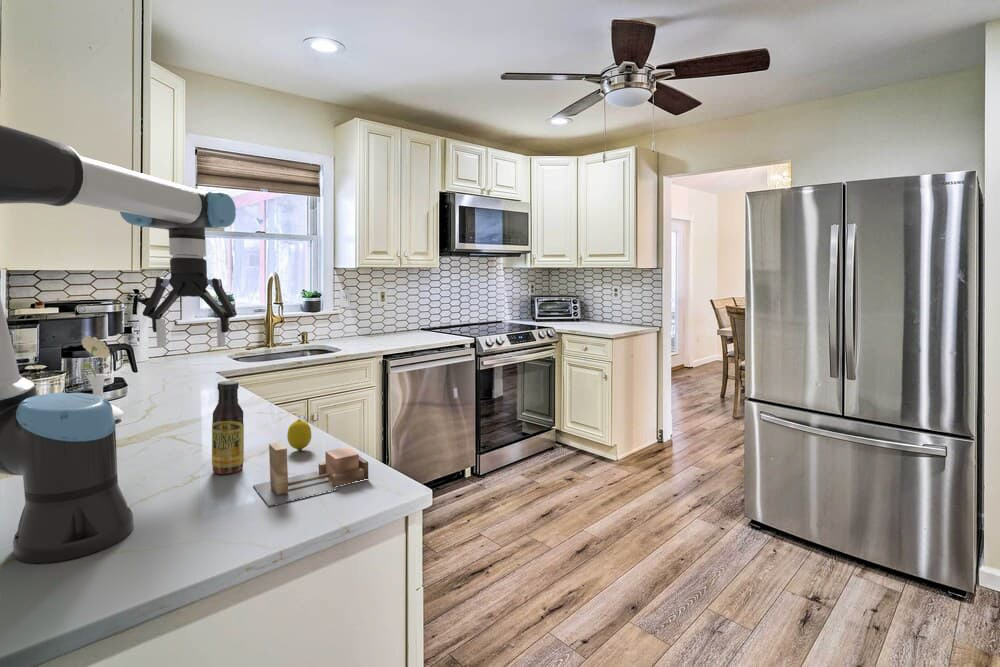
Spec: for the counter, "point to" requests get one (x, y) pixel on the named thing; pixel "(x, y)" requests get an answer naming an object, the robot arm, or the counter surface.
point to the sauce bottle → (227, 430)
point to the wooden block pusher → (335, 464)
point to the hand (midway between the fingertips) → (191, 346)
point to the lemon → (299, 434)
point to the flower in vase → (97, 379)
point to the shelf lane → (312, 484)
